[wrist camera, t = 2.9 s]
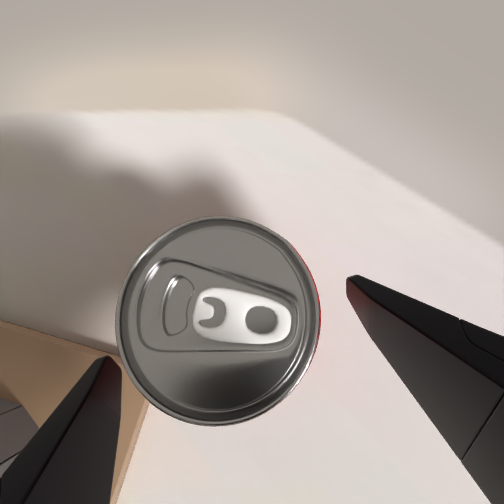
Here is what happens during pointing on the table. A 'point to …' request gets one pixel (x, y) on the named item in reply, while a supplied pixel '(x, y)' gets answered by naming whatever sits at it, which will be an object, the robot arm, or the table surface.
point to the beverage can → (217, 321)
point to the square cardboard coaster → (54, 392)
